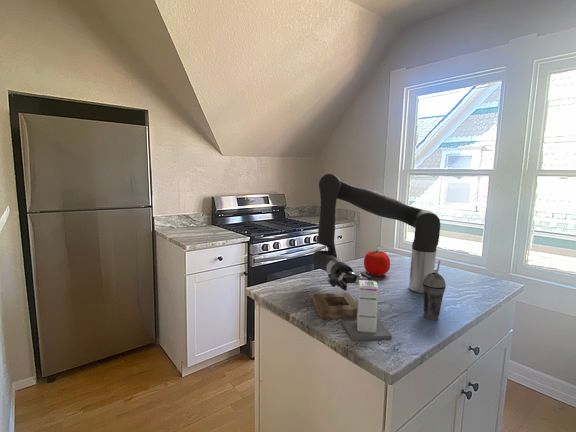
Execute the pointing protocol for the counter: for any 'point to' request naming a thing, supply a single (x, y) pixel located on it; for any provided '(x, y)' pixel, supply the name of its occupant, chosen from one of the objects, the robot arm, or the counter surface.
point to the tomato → (376, 263)
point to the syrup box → (367, 306)
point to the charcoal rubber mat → (359, 335)
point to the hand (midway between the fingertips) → (358, 287)
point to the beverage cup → (433, 294)
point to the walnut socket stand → (335, 311)
